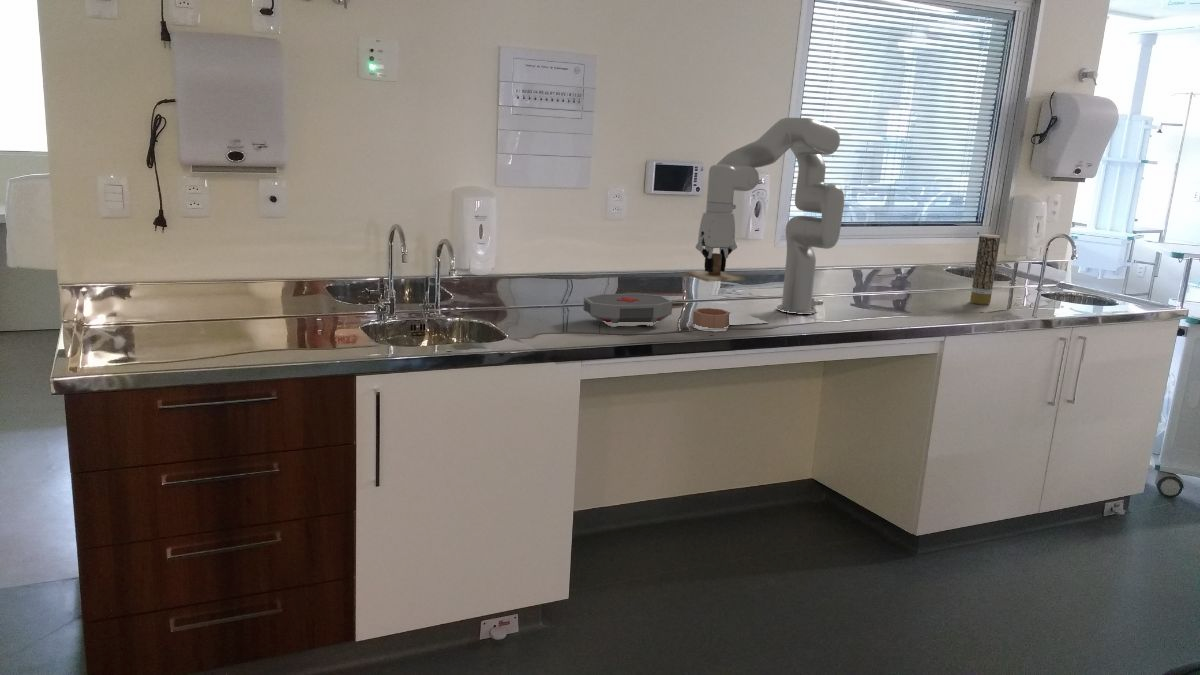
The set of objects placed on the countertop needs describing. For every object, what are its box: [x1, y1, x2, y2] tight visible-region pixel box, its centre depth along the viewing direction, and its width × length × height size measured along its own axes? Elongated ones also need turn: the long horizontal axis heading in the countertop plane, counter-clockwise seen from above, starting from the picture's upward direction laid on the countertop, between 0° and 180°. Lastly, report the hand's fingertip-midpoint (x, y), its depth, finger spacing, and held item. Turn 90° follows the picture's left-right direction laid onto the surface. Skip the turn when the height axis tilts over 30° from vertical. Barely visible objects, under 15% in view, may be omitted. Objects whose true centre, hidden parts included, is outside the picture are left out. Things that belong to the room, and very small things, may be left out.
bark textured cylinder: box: [969, 233, 1001, 306], centre depth 311 cm, size 7×7×25 cm
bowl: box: [692, 307, 731, 328], centre depth 256 cm, size 10×10×5 cm
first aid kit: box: [582, 293, 673, 323], centre depth 257 cm, size 18×8×25 cm
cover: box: [683, 252, 746, 282], centre depth 252 cm, size 13×13×7 cm
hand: (714, 270), depth 253 cm, fingers closed on cover, 3 cm apart
